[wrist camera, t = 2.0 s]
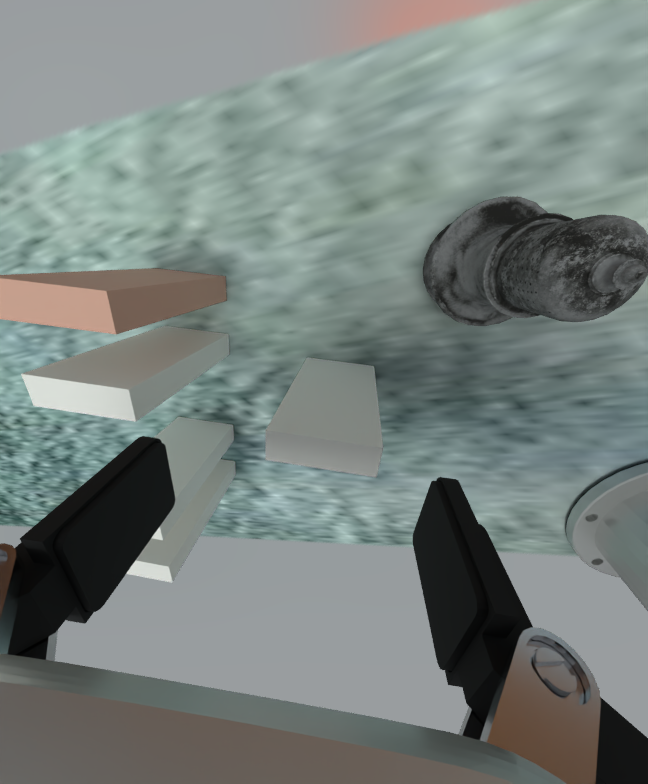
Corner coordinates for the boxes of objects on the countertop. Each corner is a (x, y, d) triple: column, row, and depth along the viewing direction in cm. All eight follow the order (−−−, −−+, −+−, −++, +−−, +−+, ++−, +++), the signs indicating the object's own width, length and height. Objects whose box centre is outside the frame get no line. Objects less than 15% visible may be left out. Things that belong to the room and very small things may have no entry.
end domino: (225, 276, 19) (106, 291, 10) (226, 300, 20) (116, 334, 11) (156, 268, 20) (-18, 275, 11) (159, 292, 20) (-1, 318, 11)
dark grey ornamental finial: (444, 332, 19) (551, 426, 8) (400, 253, 17) (462, 243, 7) (536, 278, 17) (834, 310, 6) (497, 183, 15) (811, 6, 5)
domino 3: (235, 461, 26) (168, 566, 17) (235, 474, 27) (172, 582, 18) (183, 453, 27) (92, 552, 18) (185, 466, 27) (98, 568, 18)
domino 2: (233, 424, 24) (158, 520, 15) (234, 440, 25) (162, 540, 16) (178, 416, 25) (73, 505, 16) (180, 431, 26) (81, 525, 17)
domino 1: (228, 333, 21) (128, 389, 12) (229, 354, 22) (135, 421, 13) (164, 325, 21) (21, 373, 12) (167, 346, 22) (33, 406, 13)
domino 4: (374, 366, 21) (383, 447, 12) (370, 385, 21) (376, 477, 12) (306, 357, 21) (265, 429, 12) (305, 376, 22) (265, 459, 13)
